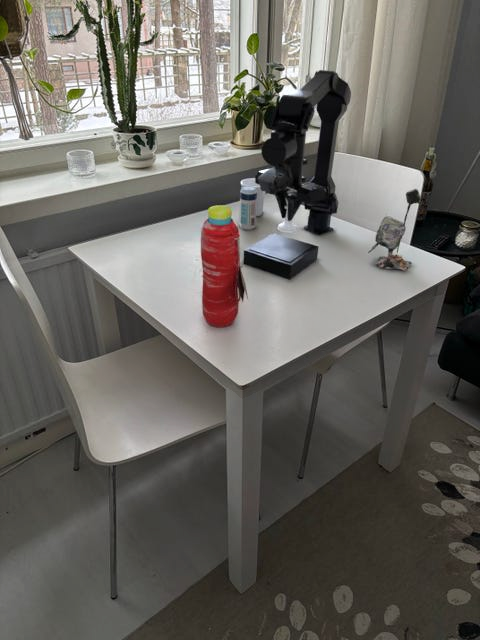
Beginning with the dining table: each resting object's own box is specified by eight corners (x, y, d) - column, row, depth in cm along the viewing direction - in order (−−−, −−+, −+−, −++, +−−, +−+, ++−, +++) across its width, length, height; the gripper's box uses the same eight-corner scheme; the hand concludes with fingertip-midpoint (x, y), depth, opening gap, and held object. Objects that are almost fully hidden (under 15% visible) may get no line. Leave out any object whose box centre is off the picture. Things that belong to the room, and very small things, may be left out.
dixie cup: (234, 213, 156) (235, 182, 151) (251, 206, 161) (252, 176, 156) (255, 220, 152) (256, 188, 146) (271, 212, 157) (273, 182, 152)
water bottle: (259, 325, 102) (265, 211, 89) (235, 342, 97) (237, 223, 84) (216, 305, 109) (215, 196, 95) (191, 320, 103) (187, 207, 90)
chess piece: (284, 234, 119) (286, 194, 114) (273, 227, 123) (276, 188, 118) (301, 230, 121) (304, 191, 116) (290, 223, 125) (293, 185, 120)
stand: (272, 246, 136) (273, 232, 133) (317, 260, 129) (318, 245, 127) (243, 264, 126) (243, 249, 124) (289, 280, 119) (291, 264, 117)
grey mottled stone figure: (376, 252, 133) (390, 180, 122) (415, 265, 127) (434, 190, 116) (362, 262, 128) (375, 187, 117) (402, 276, 122) (420, 198, 111)
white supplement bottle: (256, 224, 148) (257, 185, 142) (254, 230, 144) (256, 191, 138) (240, 223, 149) (241, 185, 142) (238, 230, 145) (239, 190, 138)
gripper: (238, 151, 114) (237, 215, 122) (295, 170, 102) (289, 239, 110) (273, 144, 120) (270, 205, 128) (331, 161, 108) (323, 228, 116)
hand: (286, 219), depth 121 cm, fingers closed on chess piece
